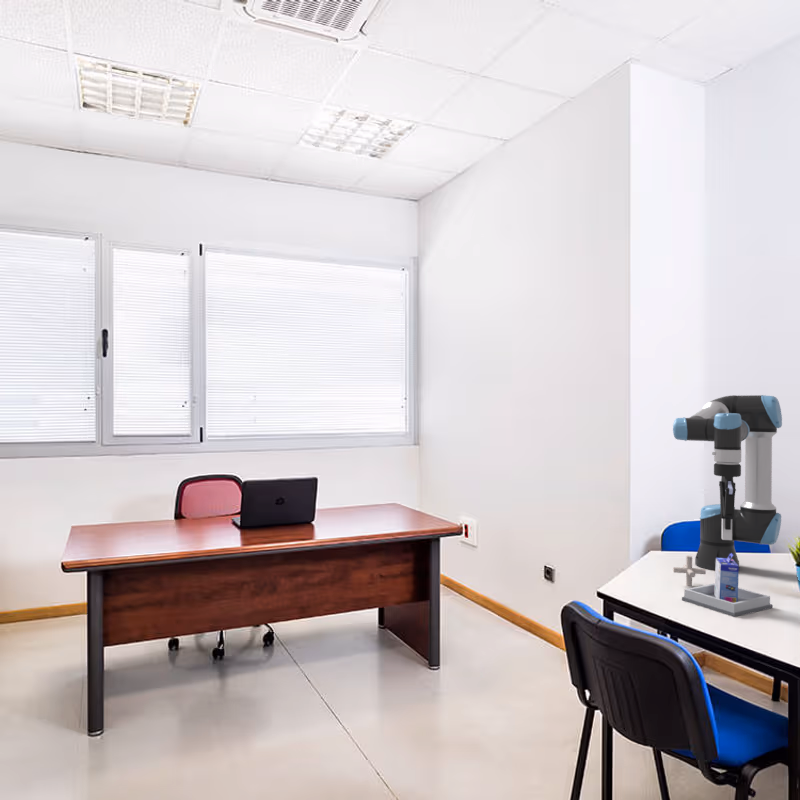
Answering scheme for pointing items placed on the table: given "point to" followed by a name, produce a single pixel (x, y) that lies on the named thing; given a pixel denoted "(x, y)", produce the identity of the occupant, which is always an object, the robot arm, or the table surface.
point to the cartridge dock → (745, 604)
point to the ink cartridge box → (726, 579)
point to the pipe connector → (689, 570)
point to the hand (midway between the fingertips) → (726, 539)
